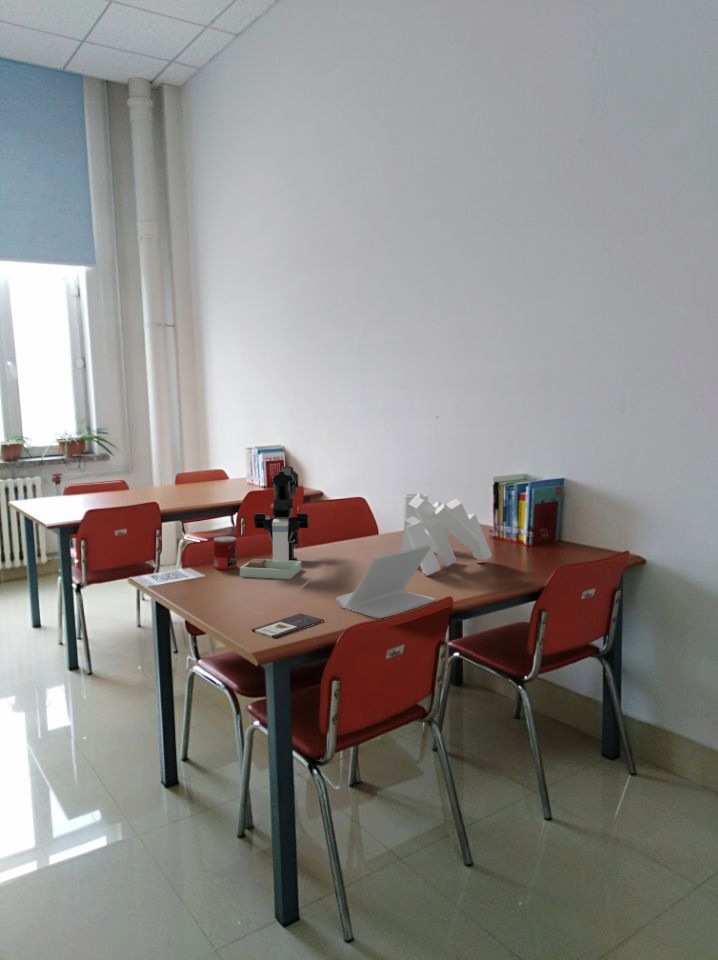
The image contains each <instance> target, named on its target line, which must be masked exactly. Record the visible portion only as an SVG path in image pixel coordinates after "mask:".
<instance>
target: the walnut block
mask: <svg viewBox="0 0 718 960" xmlns="http://www.w3.org/2000/svg"><path fill="white" fill-rule="evenodd" d="M252 559H253V560H252ZM252 559H251V560H249V561H250V562H249V561H248V562H249V568H266V559H267V558H265V559H264V558H252Z"/></svg>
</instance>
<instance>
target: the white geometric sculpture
mask: <svg viewBox="0 0 718 960" xmlns="http://www.w3.org/2000/svg"><path fill="white" fill-rule="evenodd" d="M417 494H418V495H416V496H415V497H414V498H413V499H412V500H411V501H410V503H409V506H410V507H411V508H412V509H413V511H414V512H415V513H416V515H417V516H418V517H419V518H420V520H421V521H422V522H421V521H420V520H418V519H416V518H415V517H410V518H408V519H406V520H405V522H404V524H403V531H402V532H403V533H402V539H401V549H400V552H401V551H405V550H409V549H413V548H417V547H421V546H425V545H429V546H430V547H431V548H430V550H429V551H428V553H427V554H426V556H425V557H424V559H423V561H422V562H421V564H420V565H419V566H420V569H421V571H422V574H423V573H425V574H426V575H425V576H430V575H432V574H433V573H437V572H438V571H440V570H442V569H441V567H440V565H439V562H438V559H439V560H440V562H441V563H443V565H444V566H446V567H449V566H450V565H452V564H455V562H457V561H458V560H457V558H456V556H455V555H456V554H455V553H454V550H453V548H452V546H451V543H450V540H449V538H448V537H449V536H450V535H453V536H454V537H455V538H456V539H457V540H458V541H459V543H461V544H462V545H464V546H466V547H467V548H468V549H469V550H470V551H471V554H472V556H473V558H477V559H483V560H485V559H488V558H490V557H491V558H492V556H493V555H492V552H491V550H490V547H489V545H488V541H487V540H486V537H485V535H484V532H483V529H482V528H481V524H480V522H479V519H478V517H477V514H476V513H469V514H468V513H467V511H466V509H465V508H464V506H463V503H462V502H461V501H460V500H458V499H457V498H454V499H452V500H451V501H449V502H447V503H445V502H443V503H442V502H441V501H440V500H437V501H436V502H435V503H433V504H432V503H431V502H430V501H429V499H428V500H427V499H426V498H425V497H424V496H423V495H422V494H423V493H421V492H418V493H417ZM423 523H424V525H425V526H426V529H425V528H424V527H423ZM436 555H438V559H437V556H436ZM491 558H490V559H491Z"/></svg>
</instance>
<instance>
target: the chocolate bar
mask: <svg viewBox="0 0 718 960" xmlns="http://www.w3.org/2000/svg"><path fill="white" fill-rule="evenodd" d="M321 621H324V622H325V619H324V618H319V617H315V616H311V615H308V614H304V613H297V614H295V615H292V616H288V617H285V618H281V619H279V620H275V621H273V622H272V621H271V622H270V623H266V624H264V625H261V626H257V627H254V628H252V629H251V632H254V633H256V634H259V635H262V634H263V635H262V636H265V637H269V638H272V639H278V638H281V636H282V637H284V635H285V636H286V635H290V634H293V633H295V632H294V631H296V632H298V631H297V630H299V629H302V628H304V627H307V626H310V625H312V624H315V623H318V622H321ZM310 627H311V626H310ZM307 628H308V627H307ZM304 629H305V628H304ZM302 630H303V629H302ZM299 631H300V630H299ZM292 632H293V633H292ZM289 633H290V634H289Z"/></svg>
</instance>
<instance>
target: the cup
mask: <svg viewBox="0 0 718 960" xmlns="http://www.w3.org/2000/svg"><path fill="white" fill-rule="evenodd" d="M418 494H419V493H408V494H407V493H406V494H404V495H403V505H402V506H403V509H402V510H403V522H404V523H405V520H406V519H408V518H410V517H415V518H416V519H418V520H420V518H419V517H418V516H417V515H416V513H415V512H414V511H413V509H412V508H411V507H410V506H409V503H410V501H411V500H412V499H413V498H414V497H415V496H416V495H418ZM421 494H422V495H423V496H424V497H425V498H426V499H427V500H428V501H429V496H428V494H425V493H421ZM420 521H421V520H420ZM421 522H422V521H421ZM423 527H424V528H425V529H427V527H426V526H425V525H424V523H423Z"/></svg>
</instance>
